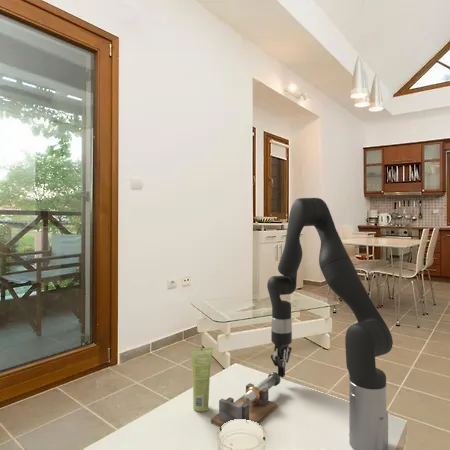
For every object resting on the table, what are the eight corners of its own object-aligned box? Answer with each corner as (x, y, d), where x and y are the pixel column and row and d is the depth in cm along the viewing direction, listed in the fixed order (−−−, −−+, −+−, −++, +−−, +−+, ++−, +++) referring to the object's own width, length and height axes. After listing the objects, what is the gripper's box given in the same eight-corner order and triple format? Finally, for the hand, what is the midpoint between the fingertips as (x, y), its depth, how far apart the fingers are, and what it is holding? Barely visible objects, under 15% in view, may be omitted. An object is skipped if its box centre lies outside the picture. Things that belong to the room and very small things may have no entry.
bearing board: (277, 407, 115) (277, 385, 115) (244, 437, 99) (244, 411, 99) (246, 396, 122) (246, 376, 122) (211, 423, 106) (211, 399, 106)
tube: (200, 402, 118) (200, 344, 118) (212, 406, 116) (212, 346, 116) (189, 409, 114) (190, 349, 114) (202, 414, 111) (202, 352, 111)
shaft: (281, 386, 125) (281, 373, 125) (253, 409, 110) (253, 394, 110) (269, 383, 128) (269, 370, 128) (240, 405, 112) (240, 390, 112)
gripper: (282, 335, 123) (282, 385, 123) (298, 327, 134) (298, 372, 134) (263, 332, 128) (263, 379, 128) (280, 323, 138) (280, 367, 138)
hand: (281, 376), depth 131 cm, fingers closed
